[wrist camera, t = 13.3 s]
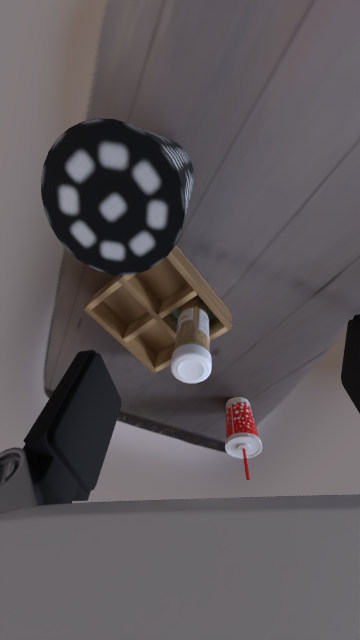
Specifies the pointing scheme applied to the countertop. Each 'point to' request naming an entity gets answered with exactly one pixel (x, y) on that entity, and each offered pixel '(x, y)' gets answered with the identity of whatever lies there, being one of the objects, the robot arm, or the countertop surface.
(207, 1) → the countertop surface
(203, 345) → the sprinkles bottle
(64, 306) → the countertop surface
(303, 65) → the countertop surface
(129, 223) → the spotted tube
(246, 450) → the beverage cup
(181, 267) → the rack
